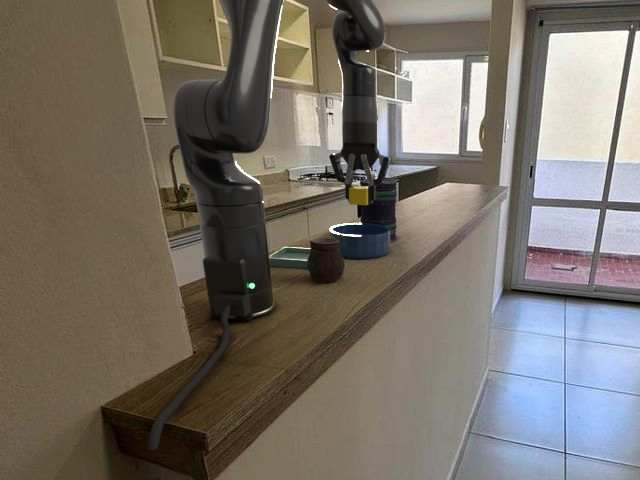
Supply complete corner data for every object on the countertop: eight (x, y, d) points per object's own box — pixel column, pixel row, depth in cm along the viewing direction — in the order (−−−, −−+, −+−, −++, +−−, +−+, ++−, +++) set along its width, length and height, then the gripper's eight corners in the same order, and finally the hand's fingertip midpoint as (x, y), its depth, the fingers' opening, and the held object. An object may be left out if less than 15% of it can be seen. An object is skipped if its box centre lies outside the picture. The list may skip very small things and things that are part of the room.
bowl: (383, 261, 101) (383, 237, 99) (322, 257, 102) (321, 233, 100) (394, 246, 114) (394, 225, 112) (340, 243, 115) (339, 221, 113)
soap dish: (315, 269, 94) (315, 261, 94) (266, 265, 95) (265, 257, 95) (330, 256, 103) (330, 249, 103) (285, 253, 104) (284, 246, 104)
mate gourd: (305, 275, 90) (301, 225, 86) (342, 272, 93) (340, 224, 89) (310, 286, 84) (307, 234, 80) (350, 283, 86) (348, 232, 83)
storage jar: (368, 232, 128) (367, 166, 121) (401, 235, 126) (402, 168, 119) (354, 239, 120) (352, 169, 113) (389, 243, 117) (389, 171, 110)
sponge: (366, 205, 99) (366, 189, 98) (349, 204, 100) (348, 188, 99) (371, 202, 104) (371, 186, 103) (355, 201, 104) (354, 185, 103)
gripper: (321, 118, 93) (325, 202, 99) (388, 121, 91) (387, 206, 98) (333, 120, 100) (335, 198, 106) (395, 122, 98) (394, 202, 104)
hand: (360, 202), depth 102 cm, fingers closed on sponge, 4 cm apart
